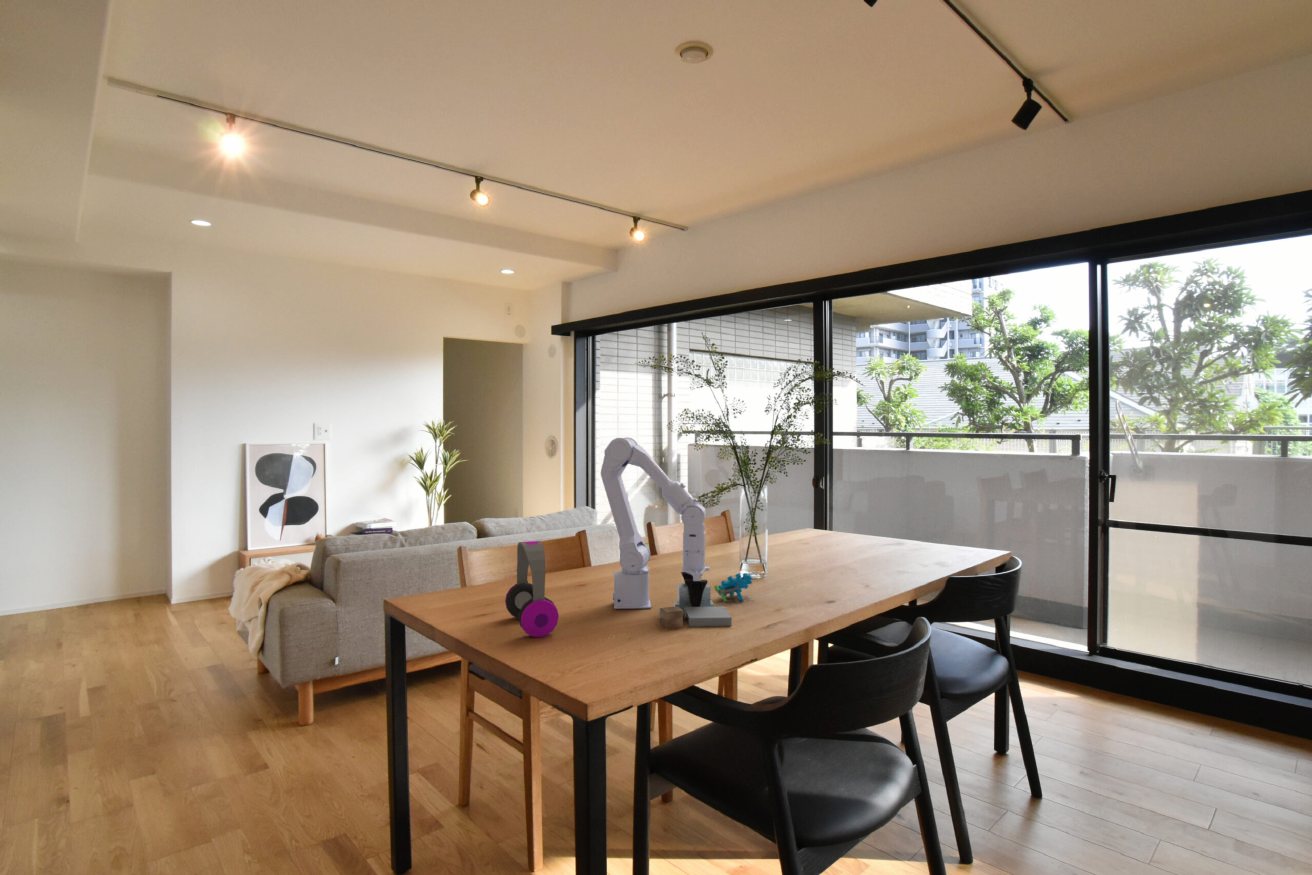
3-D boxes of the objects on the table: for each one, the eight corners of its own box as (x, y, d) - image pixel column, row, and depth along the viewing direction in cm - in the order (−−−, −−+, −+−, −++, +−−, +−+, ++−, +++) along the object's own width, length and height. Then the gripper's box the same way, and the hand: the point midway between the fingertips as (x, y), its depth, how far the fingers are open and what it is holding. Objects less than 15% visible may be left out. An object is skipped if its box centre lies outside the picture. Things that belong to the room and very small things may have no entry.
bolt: (660, 621, 163) (660, 609, 163) (659, 618, 166) (659, 606, 166) (685, 620, 164) (685, 609, 164) (683, 617, 167) (683, 606, 167)
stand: (689, 626, 159) (689, 618, 159) (684, 614, 169) (684, 606, 169) (731, 625, 160) (731, 617, 160) (724, 614, 170) (724, 606, 170)
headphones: (503, 617, 167) (503, 536, 166) (538, 613, 170) (538, 533, 170) (521, 641, 147) (521, 550, 147) (561, 637, 151) (561, 547, 151)
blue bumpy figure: (746, 587, 192) (754, 567, 185) (754, 605, 188) (762, 586, 181) (709, 595, 189) (716, 575, 181) (717, 614, 185) (724, 594, 178)
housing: (675, 610, 173) (675, 587, 173) (673, 606, 177) (673, 583, 177) (714, 610, 173) (714, 587, 173) (711, 606, 178) (711, 583, 178)
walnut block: (666, 629, 157) (666, 611, 157) (661, 624, 161) (661, 607, 161) (682, 627, 159) (682, 610, 159) (676, 623, 162) (676, 606, 162)
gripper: (713, 555, 168) (713, 610, 168) (705, 545, 183) (705, 595, 183) (685, 555, 168) (685, 610, 168) (679, 545, 182) (679, 596, 182)
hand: (693, 602), depth 175 cm, fingers open, 7 cm apart
